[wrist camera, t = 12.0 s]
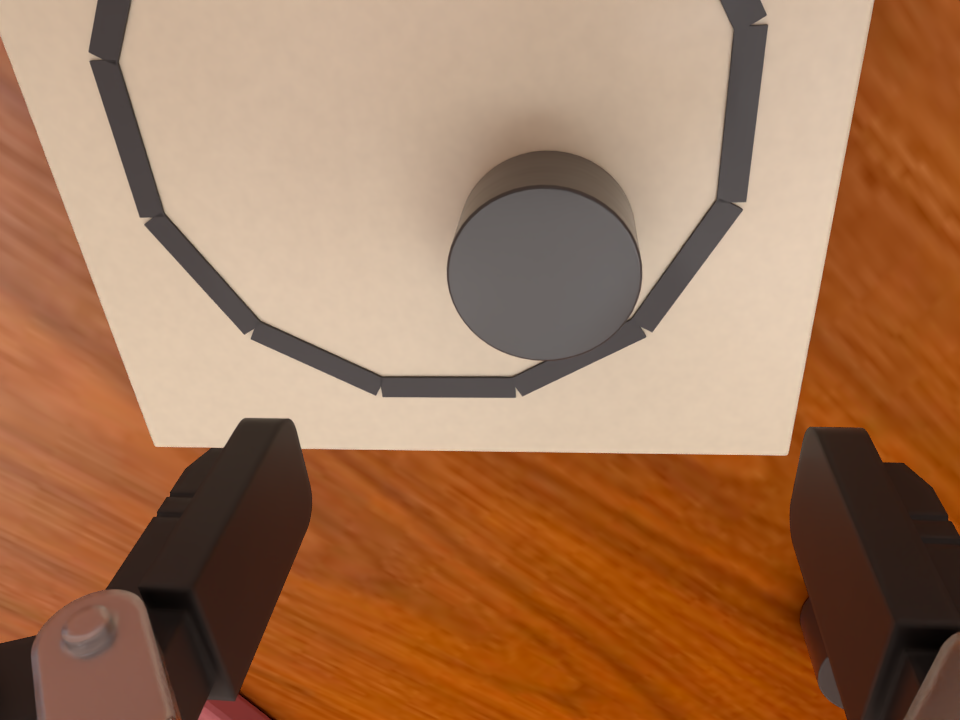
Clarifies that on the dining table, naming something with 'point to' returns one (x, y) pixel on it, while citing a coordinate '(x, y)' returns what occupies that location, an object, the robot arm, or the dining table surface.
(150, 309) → the board
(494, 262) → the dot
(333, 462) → the dining table surface
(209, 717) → the popsicle
